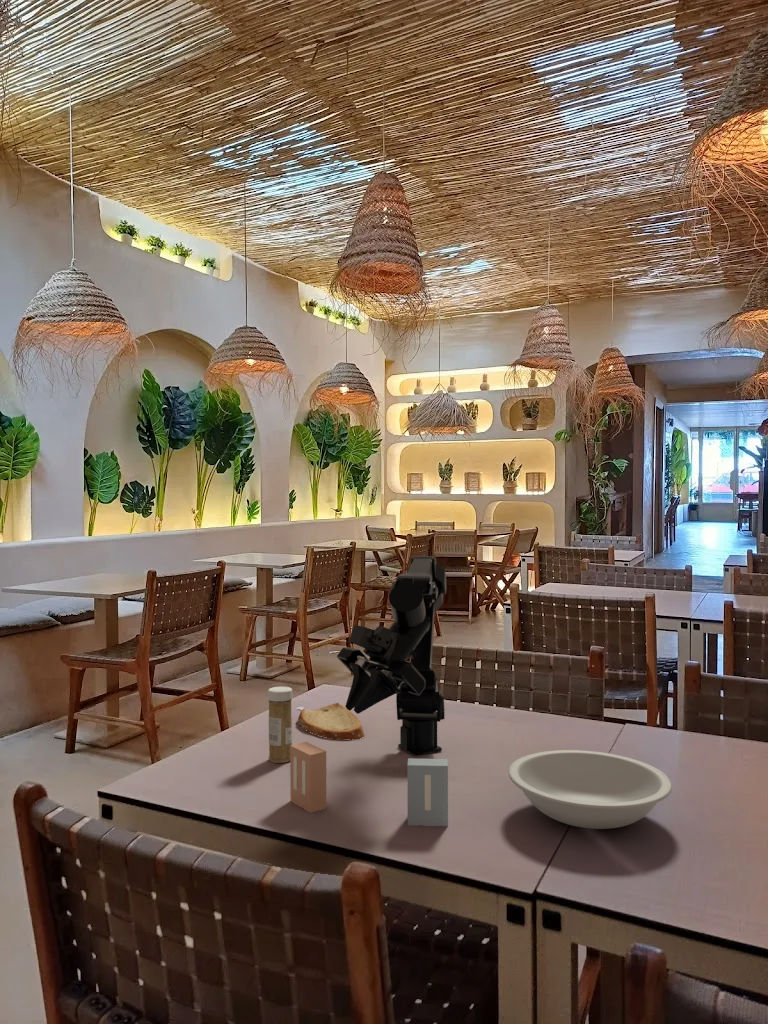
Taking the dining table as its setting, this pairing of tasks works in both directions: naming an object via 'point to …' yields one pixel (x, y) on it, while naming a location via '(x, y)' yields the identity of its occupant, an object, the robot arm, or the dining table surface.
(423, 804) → the grey-blue block
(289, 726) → the sprinkles bottle
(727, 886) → the dining table surface
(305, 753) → the cardboard box
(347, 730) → the slice of bread
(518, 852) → the dining table surface
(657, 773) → the soup bowl
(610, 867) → the dining table surface
